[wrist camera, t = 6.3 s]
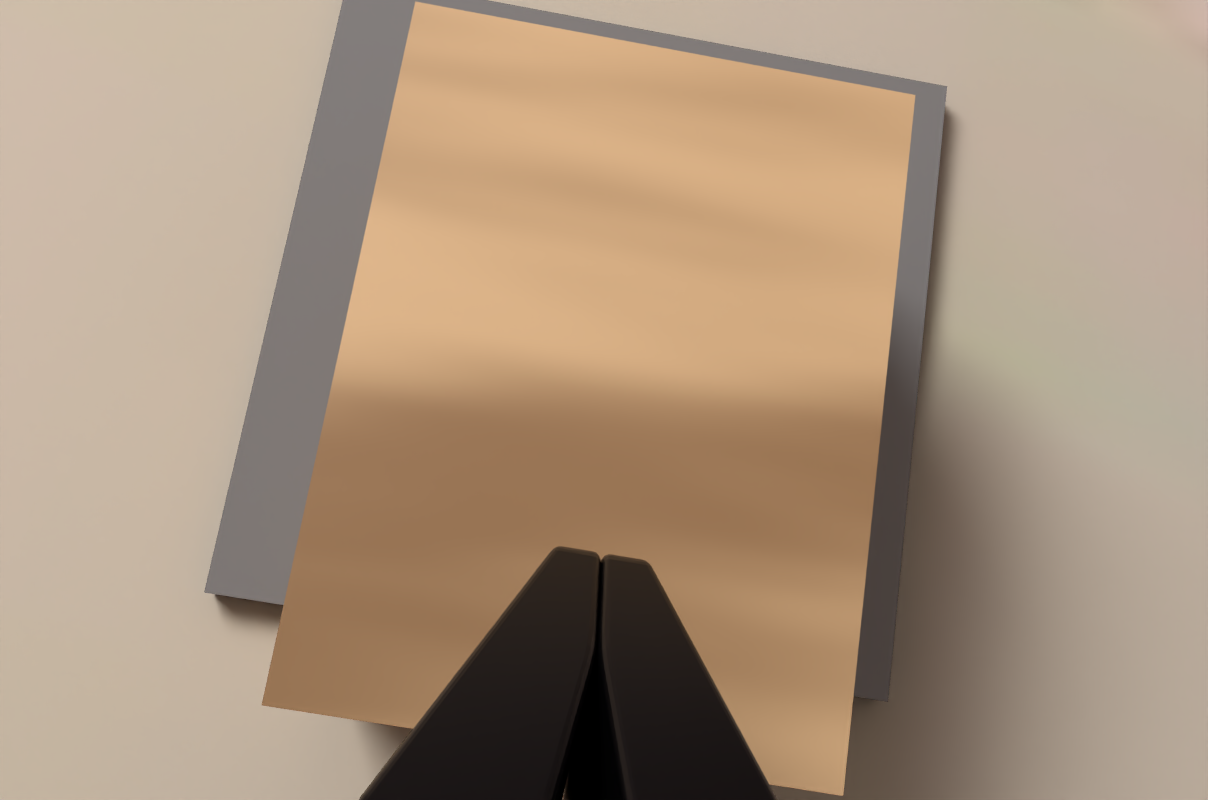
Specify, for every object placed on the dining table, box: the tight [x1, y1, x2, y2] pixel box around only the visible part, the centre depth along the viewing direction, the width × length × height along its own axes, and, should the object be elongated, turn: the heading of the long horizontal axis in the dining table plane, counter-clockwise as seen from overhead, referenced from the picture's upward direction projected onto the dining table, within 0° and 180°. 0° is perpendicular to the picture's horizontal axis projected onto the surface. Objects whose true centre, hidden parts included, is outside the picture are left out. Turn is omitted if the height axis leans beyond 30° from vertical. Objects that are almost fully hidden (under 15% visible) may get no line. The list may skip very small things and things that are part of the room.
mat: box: [204, 0, 947, 702], centre depth 17 cm, size 10×10×1 cm
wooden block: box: [262, 2, 915, 796], centre depth 14 cm, size 4×6×8 cm
